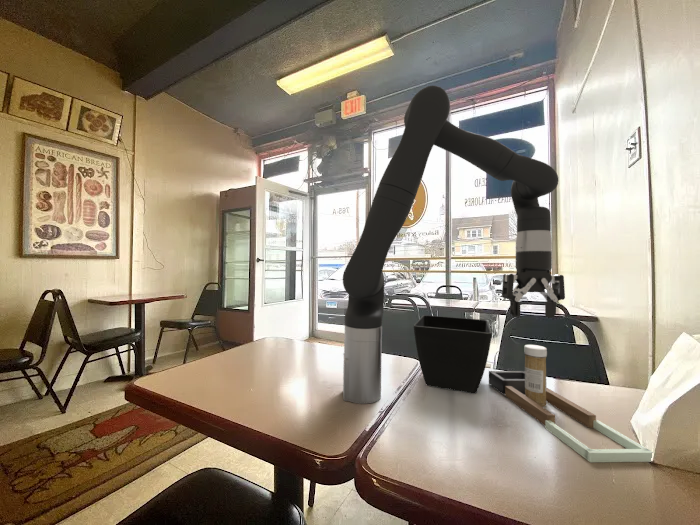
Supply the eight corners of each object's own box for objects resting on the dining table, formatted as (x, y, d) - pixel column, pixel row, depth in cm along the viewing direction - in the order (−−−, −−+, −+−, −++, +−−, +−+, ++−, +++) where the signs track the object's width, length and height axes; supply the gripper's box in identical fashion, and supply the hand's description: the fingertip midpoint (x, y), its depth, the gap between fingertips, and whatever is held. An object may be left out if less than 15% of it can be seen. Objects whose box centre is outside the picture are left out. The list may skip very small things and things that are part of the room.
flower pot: (491, 402, 70) (492, 331, 71) (411, 389, 77) (412, 324, 78) (487, 376, 88) (487, 319, 88) (422, 367, 95) (423, 315, 95)
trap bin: (502, 394, 75) (503, 380, 75) (488, 383, 82) (488, 371, 82) (541, 394, 76) (541, 380, 76) (523, 383, 83) (523, 371, 83)
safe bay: (590, 462, 49) (590, 453, 49) (545, 428, 59) (545, 420, 59) (654, 461, 49) (654, 452, 49) (598, 427, 60) (598, 420, 60)
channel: (547, 428, 59) (547, 415, 59) (505, 396, 74) (505, 385, 74) (595, 427, 60) (595, 415, 60) (543, 396, 75) (543, 386, 75)
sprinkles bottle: (550, 404, 70) (550, 347, 70) (541, 409, 67) (541, 349, 68) (529, 397, 73) (530, 343, 74) (520, 401, 71) (520, 345, 71)
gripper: (514, 248, 68) (514, 319, 68) (573, 250, 69) (573, 320, 68) (496, 250, 76) (496, 314, 75) (549, 252, 76) (549, 315, 76)
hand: (533, 317), depth 72 cm, fingers open, 8 cm apart
